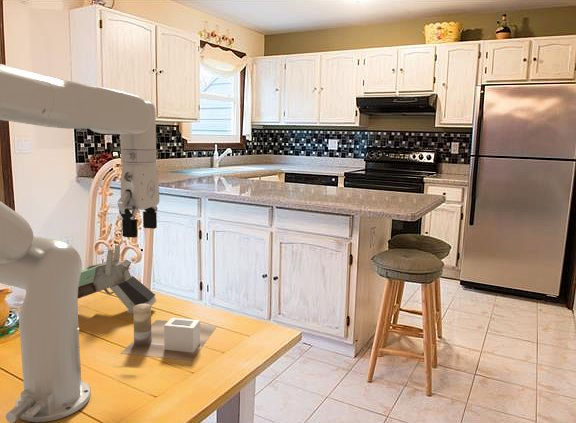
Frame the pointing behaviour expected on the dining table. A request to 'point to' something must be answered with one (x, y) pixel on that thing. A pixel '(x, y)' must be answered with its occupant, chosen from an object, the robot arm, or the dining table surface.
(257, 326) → the dining table surface
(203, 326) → the board
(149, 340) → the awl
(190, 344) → the white rectangular block
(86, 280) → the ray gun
